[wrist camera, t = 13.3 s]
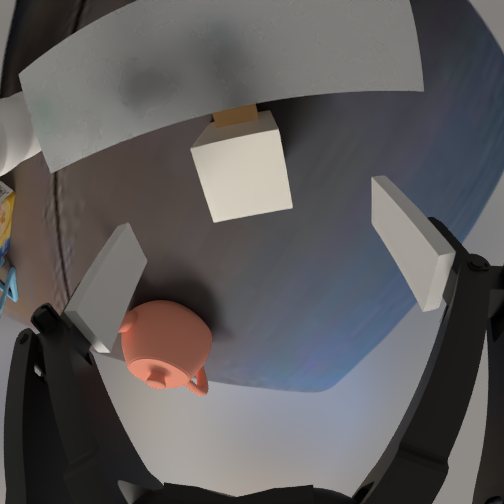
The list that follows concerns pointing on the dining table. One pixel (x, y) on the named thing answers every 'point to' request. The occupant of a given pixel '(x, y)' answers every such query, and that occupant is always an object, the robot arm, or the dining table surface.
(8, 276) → the chair
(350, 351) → the dining table surface
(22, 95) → the water bottle
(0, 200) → the beverage box
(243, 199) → the mallet
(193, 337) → the teapot
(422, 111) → the dining table surface
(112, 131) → the white arch block
